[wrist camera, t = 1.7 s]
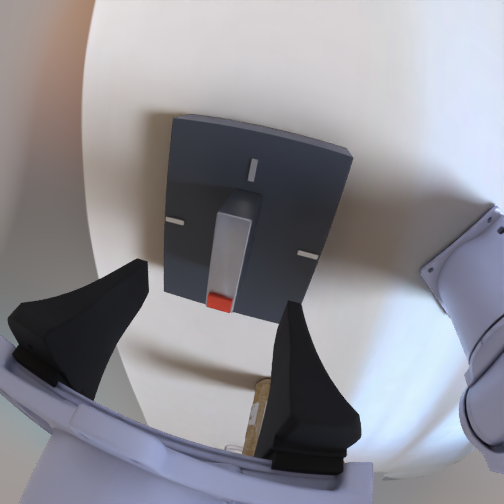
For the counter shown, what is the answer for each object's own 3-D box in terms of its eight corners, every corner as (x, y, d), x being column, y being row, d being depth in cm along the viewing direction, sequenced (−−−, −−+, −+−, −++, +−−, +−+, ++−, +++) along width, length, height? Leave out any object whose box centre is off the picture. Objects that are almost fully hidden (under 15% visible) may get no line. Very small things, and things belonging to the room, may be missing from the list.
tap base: (191, 113, 18) (171, 118, 15) (346, 148, 17) (354, 157, 15) (176, 271, 26) (162, 292, 23) (294, 303, 25) (291, 328, 22)
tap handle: (234, 188, 17) (215, 213, 14) (263, 194, 17) (250, 222, 14) (220, 271, 21) (203, 308, 17) (244, 278, 21) (231, 316, 17)
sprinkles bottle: (248, 381, 33) (224, 479, 22) (279, 373, 31) (260, 480, 20) (268, 398, 34) (250, 488, 23) (298, 391, 32) (285, 489, 21)
